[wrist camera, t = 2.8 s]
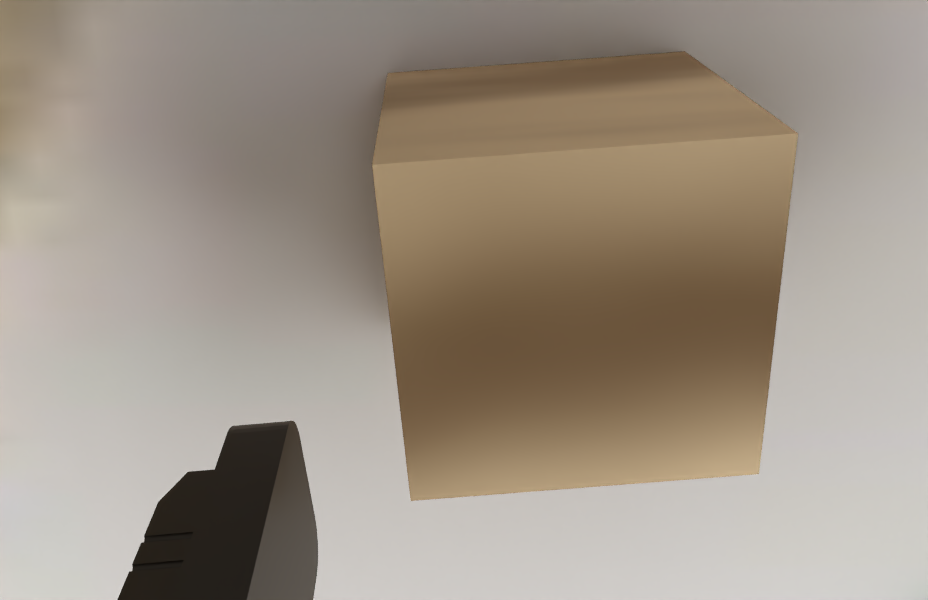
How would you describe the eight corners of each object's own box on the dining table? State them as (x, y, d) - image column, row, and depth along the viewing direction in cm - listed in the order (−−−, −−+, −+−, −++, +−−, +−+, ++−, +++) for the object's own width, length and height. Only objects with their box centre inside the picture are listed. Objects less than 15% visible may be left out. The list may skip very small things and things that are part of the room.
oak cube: (387, 72, 16) (371, 165, 11) (683, 50, 16) (797, 133, 11) (414, 331, 18) (411, 501, 14) (670, 312, 19) (758, 474, 14)
